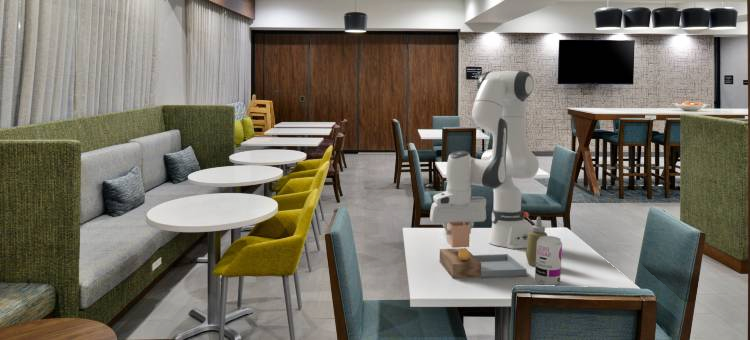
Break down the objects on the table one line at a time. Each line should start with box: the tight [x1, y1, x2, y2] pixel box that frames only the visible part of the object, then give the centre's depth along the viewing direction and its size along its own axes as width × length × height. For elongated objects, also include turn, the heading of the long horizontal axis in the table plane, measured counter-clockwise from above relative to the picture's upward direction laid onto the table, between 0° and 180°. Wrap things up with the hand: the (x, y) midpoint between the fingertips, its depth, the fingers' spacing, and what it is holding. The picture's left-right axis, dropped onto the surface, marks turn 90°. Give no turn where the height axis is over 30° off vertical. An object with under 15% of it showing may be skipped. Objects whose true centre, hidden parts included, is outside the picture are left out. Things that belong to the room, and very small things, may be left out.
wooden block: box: [439, 247, 481, 279], centre depth 205 cm, size 10×18×5 cm, turn 8°
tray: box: [472, 253, 527, 279], centre depth 206 cm, size 16×18×2 cm
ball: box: [458, 248, 471, 260], centre depth 200 cm, size 4×4×4 cm
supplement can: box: [534, 235, 563, 286], centre depth 192 cm, size 8×8×15 cm
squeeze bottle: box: [525, 216, 548, 267], centre depth 210 cm, size 8×8×18 cm
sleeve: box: [446, 222, 471, 249], centre depth 208 cm, size 6×8×8 cm
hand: (457, 234), depth 208 cm, fingers closed on sleeve, 6 cm apart
